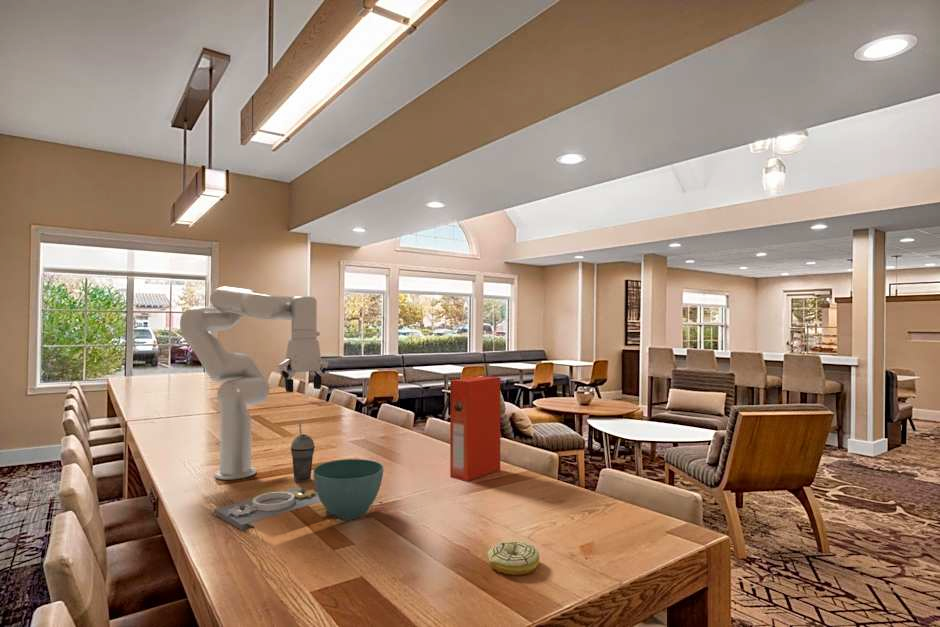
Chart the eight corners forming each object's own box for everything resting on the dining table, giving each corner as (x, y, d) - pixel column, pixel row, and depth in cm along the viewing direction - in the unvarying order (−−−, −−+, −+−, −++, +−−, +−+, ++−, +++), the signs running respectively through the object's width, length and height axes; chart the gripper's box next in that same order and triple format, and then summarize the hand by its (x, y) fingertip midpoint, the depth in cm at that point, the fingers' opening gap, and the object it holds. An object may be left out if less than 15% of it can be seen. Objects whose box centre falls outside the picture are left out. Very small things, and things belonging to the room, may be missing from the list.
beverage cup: (307, 489, 159) (307, 423, 159) (285, 487, 160) (286, 422, 161) (318, 482, 166) (319, 419, 166) (297, 480, 168) (298, 418, 168)
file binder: (449, 476, 173) (450, 380, 173) (482, 465, 186) (482, 376, 187) (468, 481, 168) (469, 382, 168) (500, 470, 181) (501, 377, 181)
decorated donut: (495, 552, 117) (496, 535, 118) (543, 559, 114) (543, 542, 114) (482, 573, 108) (482, 554, 108) (533, 581, 104) (533, 562, 104)
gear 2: (285, 495, 149) (285, 490, 149) (307, 489, 154) (307, 484, 154) (298, 501, 144) (298, 495, 144) (320, 495, 149) (320, 489, 149)
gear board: (214, 514, 138) (214, 503, 138) (299, 491, 157) (299, 481, 157) (242, 530, 128) (242, 518, 128) (330, 504, 146) (330, 493, 147)
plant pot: (394, 506, 145) (395, 462, 145) (360, 531, 128) (360, 481, 128) (338, 499, 151) (338, 456, 151) (298, 522, 134) (298, 473, 134)
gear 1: (222, 512, 135) (222, 506, 135) (248, 505, 141) (248, 499, 141) (234, 519, 131) (234, 513, 131) (261, 512, 136) (261, 505, 136)
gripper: (321, 335, 173) (321, 386, 173) (272, 336, 160) (271, 392, 160) (334, 335, 168) (334, 388, 168) (284, 336, 155) (284, 394, 155)
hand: (303, 390), depth 164 cm, fingers open, 9 cm apart
